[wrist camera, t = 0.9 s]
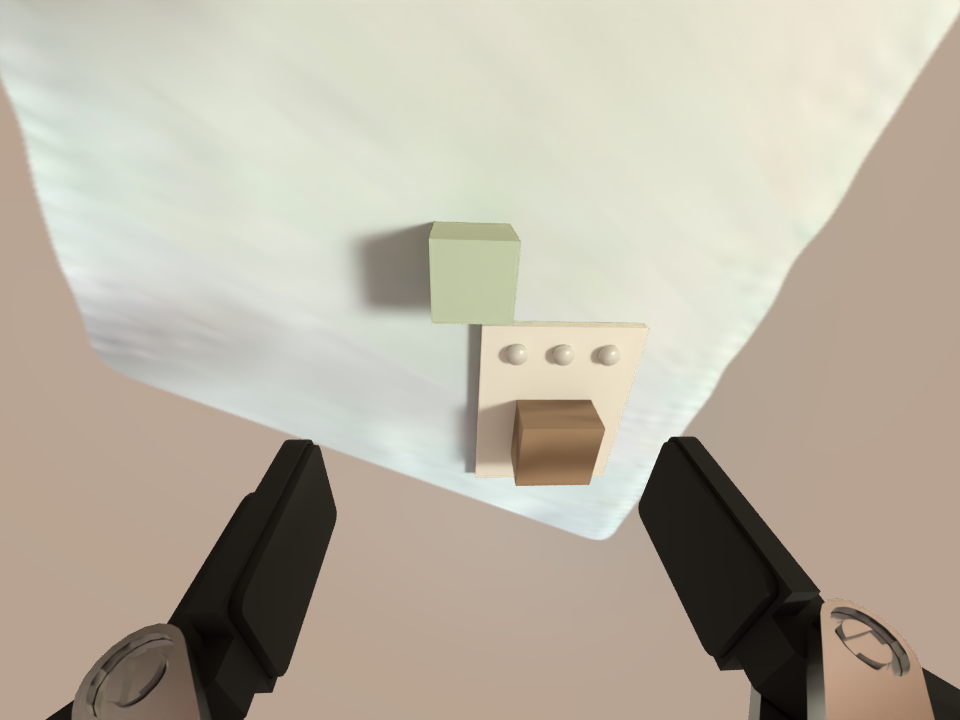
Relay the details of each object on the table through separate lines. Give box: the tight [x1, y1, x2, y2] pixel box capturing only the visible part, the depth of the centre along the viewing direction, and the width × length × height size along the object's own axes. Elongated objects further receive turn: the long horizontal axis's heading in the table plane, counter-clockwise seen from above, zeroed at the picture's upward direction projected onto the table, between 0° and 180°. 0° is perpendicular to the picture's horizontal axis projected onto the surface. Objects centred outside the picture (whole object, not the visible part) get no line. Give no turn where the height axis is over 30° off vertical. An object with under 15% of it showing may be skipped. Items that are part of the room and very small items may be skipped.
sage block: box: [429, 222, 521, 325], centre depth 25 cm, size 6×6×6 cm
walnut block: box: [511, 400, 605, 486], centre depth 34 cm, size 7×7×4 cm
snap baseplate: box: [475, 321, 649, 478], centre depth 34 cm, size 18×14×2 cm
